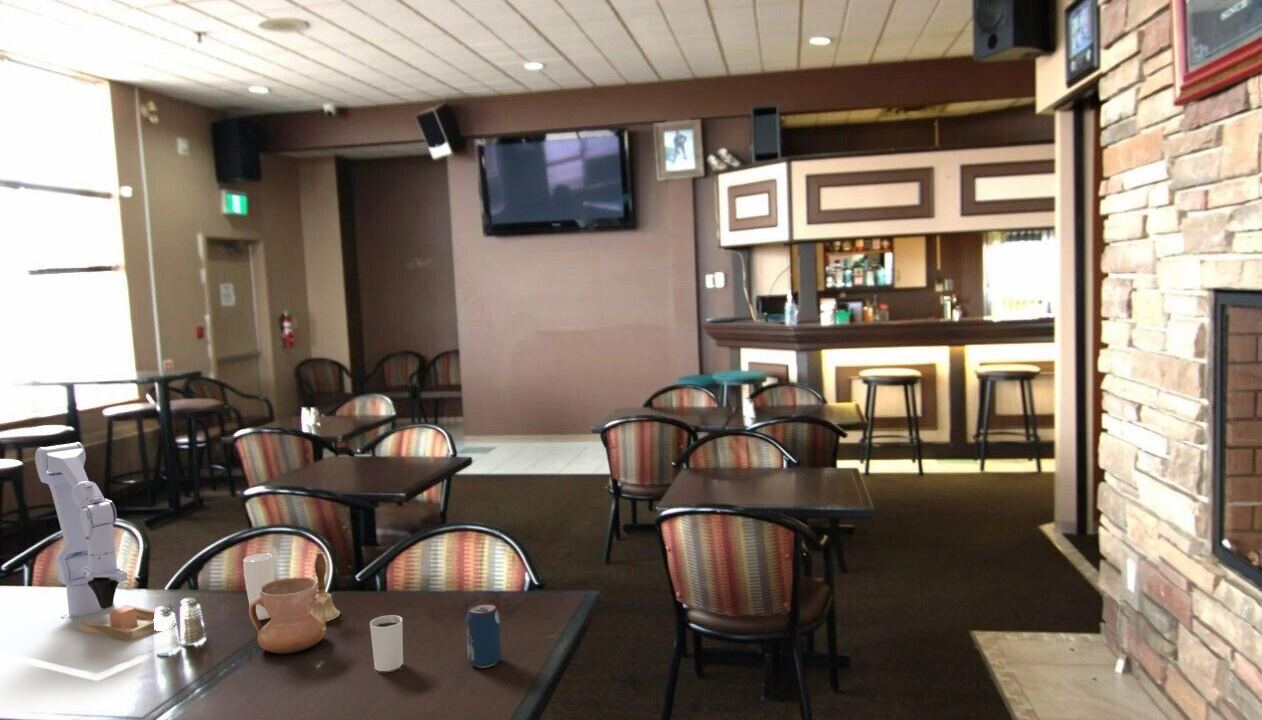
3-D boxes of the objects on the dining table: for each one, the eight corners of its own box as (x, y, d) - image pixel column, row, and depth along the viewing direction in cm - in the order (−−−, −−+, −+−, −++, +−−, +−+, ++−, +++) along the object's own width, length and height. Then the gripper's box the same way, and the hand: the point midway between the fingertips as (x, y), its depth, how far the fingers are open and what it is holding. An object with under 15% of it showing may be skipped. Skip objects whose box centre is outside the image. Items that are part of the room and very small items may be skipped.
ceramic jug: (343, 633, 205) (339, 574, 203) (313, 660, 190) (309, 596, 189) (270, 633, 207) (265, 574, 206) (235, 659, 192) (230, 595, 191)
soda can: (507, 658, 188) (504, 603, 187) (491, 671, 181) (488, 615, 180) (478, 654, 190) (475, 600, 189) (462, 668, 184) (459, 612, 183)
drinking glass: (266, 622, 213) (262, 562, 212) (241, 621, 215) (237, 561, 213) (282, 612, 220) (278, 553, 219) (258, 611, 221) (254, 552, 220)
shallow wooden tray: (126, 617, 220) (125, 605, 220) (175, 627, 212) (174, 614, 212) (79, 635, 209) (78, 622, 209) (129, 646, 202) (128, 632, 201)
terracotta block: (126, 621, 214) (125, 605, 214) (137, 623, 212) (136, 607, 212) (110, 627, 210) (109, 611, 210) (121, 630, 209) (120, 613, 208)
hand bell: (310, 612, 219) (306, 549, 218) (344, 610, 220) (340, 547, 219) (301, 625, 211) (296, 560, 210) (336, 622, 212) (332, 558, 210)
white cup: (376, 677, 181) (373, 629, 180) (369, 665, 187) (366, 619, 186) (408, 669, 184) (405, 623, 183) (401, 658, 190) (398, 613, 189)
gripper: (66, 554, 212) (71, 609, 213) (105, 560, 206) (110, 616, 207) (94, 546, 218) (99, 599, 219) (133, 551, 212) (138, 606, 213)
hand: (106, 607), depth 214 cm, fingers closed
